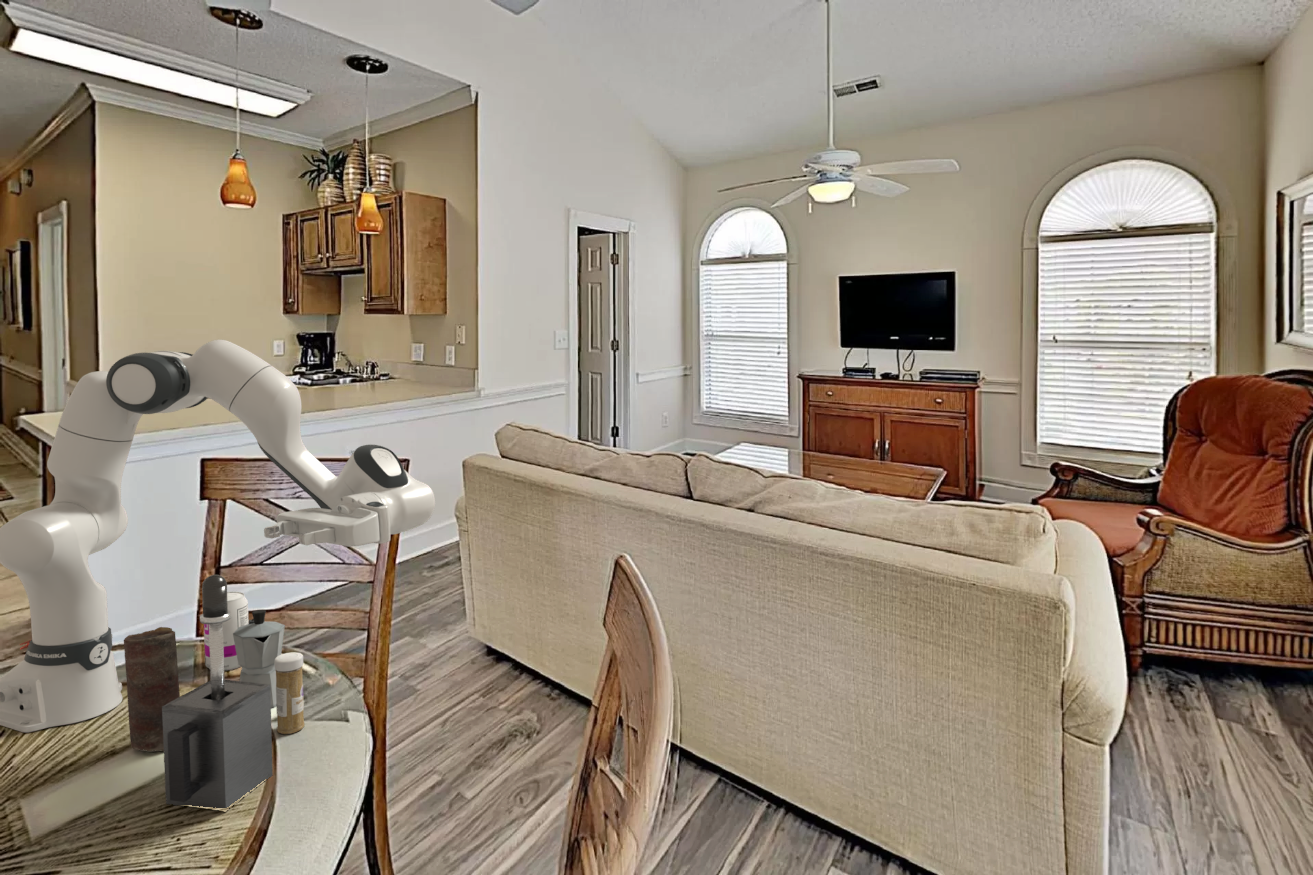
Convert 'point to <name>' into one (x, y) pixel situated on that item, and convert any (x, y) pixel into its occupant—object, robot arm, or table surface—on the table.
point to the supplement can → (229, 630)
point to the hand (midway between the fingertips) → (283, 536)
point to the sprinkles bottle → (289, 692)
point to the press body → (217, 744)
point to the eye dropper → (215, 629)
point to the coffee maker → (259, 651)
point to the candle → (150, 684)
